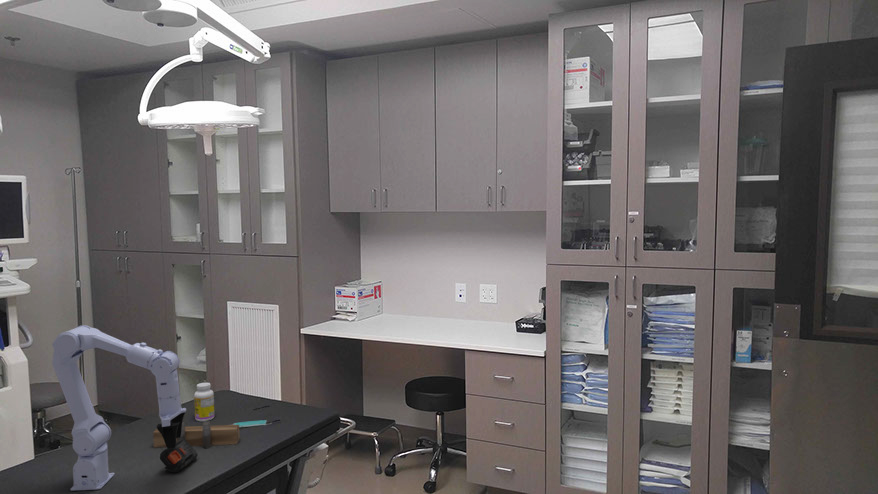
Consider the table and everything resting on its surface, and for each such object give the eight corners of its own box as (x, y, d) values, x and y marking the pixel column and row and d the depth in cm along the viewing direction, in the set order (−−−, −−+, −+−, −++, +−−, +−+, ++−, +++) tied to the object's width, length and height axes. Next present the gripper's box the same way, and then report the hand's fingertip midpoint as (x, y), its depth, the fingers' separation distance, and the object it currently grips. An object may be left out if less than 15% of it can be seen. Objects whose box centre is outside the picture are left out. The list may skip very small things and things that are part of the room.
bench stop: (235, 447, 196) (234, 422, 196) (151, 450, 194) (149, 426, 193) (239, 439, 203) (238, 415, 202) (158, 442, 200) (157, 418, 200)
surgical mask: (271, 404, 226) (283, 411, 219) (271, 415, 226) (284, 422, 219) (216, 417, 212) (227, 425, 205) (216, 429, 213) (228, 437, 205)
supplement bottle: (194, 417, 224) (193, 382, 223) (213, 414, 226) (212, 380, 225) (195, 423, 218) (194, 388, 217) (215, 420, 220) (214, 385, 219)
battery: (164, 480, 177) (182, 467, 176) (149, 456, 178) (167, 443, 177) (188, 467, 188) (205, 454, 188) (174, 444, 189) (191, 432, 189)
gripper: (179, 401, 166) (184, 450, 167) (188, 386, 180) (193, 431, 181) (151, 405, 164) (156, 454, 165) (162, 389, 178) (168, 434, 179)
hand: (174, 442), depth 173 cm, fingers open, 7 cm apart
